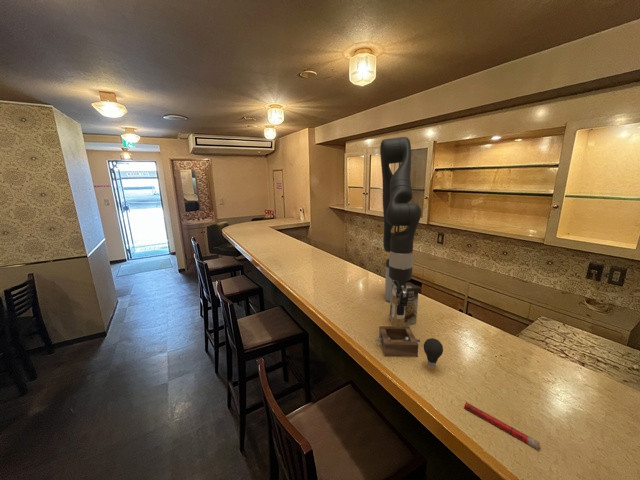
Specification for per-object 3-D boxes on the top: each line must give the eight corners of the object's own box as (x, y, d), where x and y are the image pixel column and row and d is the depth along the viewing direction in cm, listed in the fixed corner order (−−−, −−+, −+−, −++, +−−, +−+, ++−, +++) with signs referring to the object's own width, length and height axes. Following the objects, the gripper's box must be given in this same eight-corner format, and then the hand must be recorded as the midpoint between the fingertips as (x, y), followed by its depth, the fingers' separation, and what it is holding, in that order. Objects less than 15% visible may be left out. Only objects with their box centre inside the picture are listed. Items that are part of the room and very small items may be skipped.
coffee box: (397, 327, 103) (399, 290, 99) (389, 319, 109) (390, 284, 105) (417, 323, 105) (419, 287, 101) (407, 315, 111) (409, 281, 108)
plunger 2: (403, 340, 93) (403, 335, 92) (418, 340, 92) (418, 335, 92) (404, 345, 90) (405, 339, 90) (420, 345, 90) (420, 339, 90)
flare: (538, 452, 56) (539, 446, 56) (463, 410, 67) (464, 404, 67) (539, 446, 58) (540, 440, 57) (466, 405, 68) (466, 400, 68)
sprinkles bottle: (402, 329, 87) (404, 292, 84) (389, 326, 89) (390, 290, 86) (405, 322, 91) (407, 287, 88) (392, 319, 93) (394, 285, 90)
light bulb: (425, 358, 85) (427, 332, 83) (443, 366, 82) (446, 338, 79) (419, 368, 81) (421, 340, 79) (438, 376, 78) (441, 348, 75)
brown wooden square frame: (379, 336, 98) (379, 325, 97) (408, 336, 97) (409, 326, 96) (384, 356, 87) (384, 344, 86) (417, 356, 86) (418, 344, 85)
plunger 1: (375, 340, 93) (375, 334, 93) (390, 340, 93) (390, 334, 93) (376, 344, 91) (376, 338, 91) (391, 344, 91) (391, 339, 90)
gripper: (385, 257, 92) (383, 301, 96) (393, 271, 78) (391, 322, 82) (406, 257, 91) (404, 301, 95) (419, 271, 78) (415, 322, 82)
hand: (398, 310), depth 89 cm, fingers closed on sprinkles bottle, 4 cm apart
